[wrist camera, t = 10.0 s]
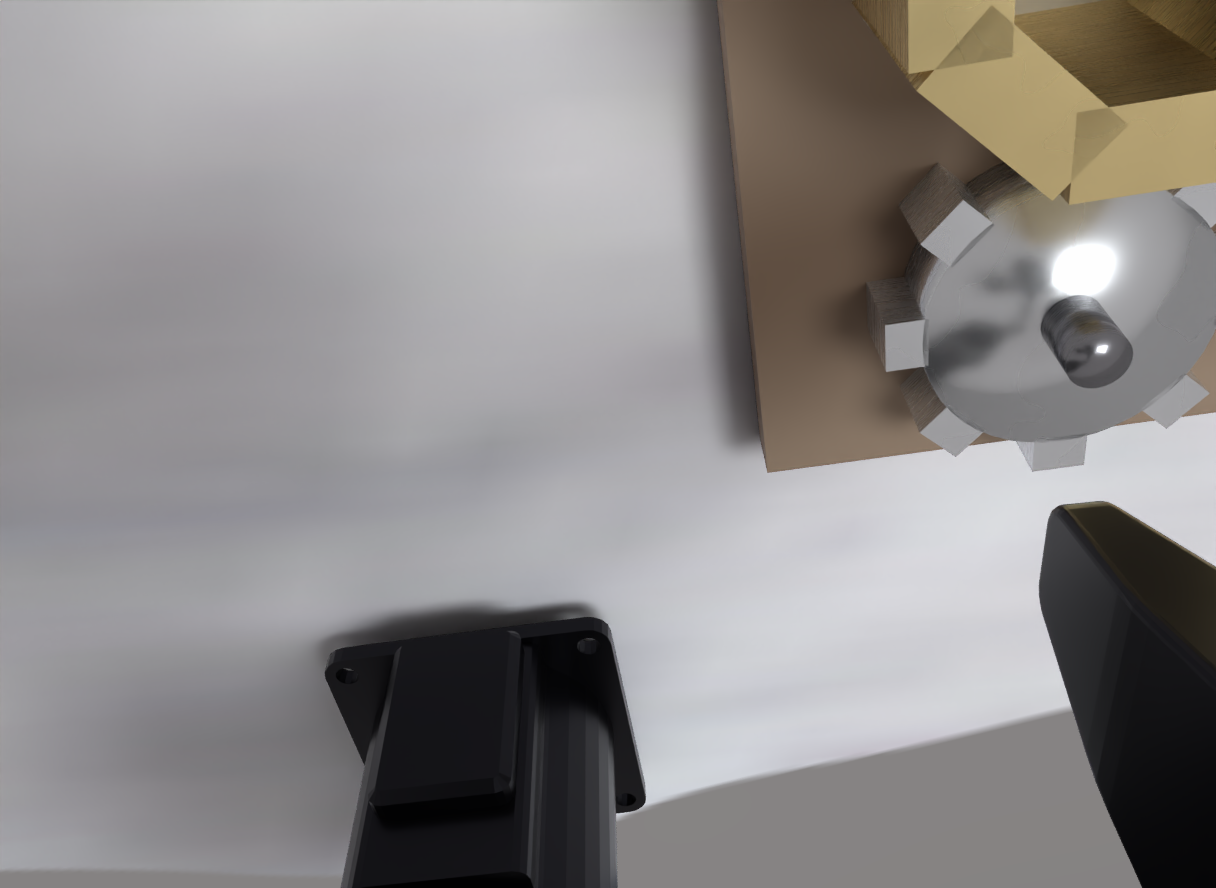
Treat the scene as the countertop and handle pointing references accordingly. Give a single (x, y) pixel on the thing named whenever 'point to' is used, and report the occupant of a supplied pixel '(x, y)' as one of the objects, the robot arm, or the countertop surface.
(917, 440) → the gear board
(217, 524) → the countertop surface
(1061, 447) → the gear
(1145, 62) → the tan hollow octagonal ring
